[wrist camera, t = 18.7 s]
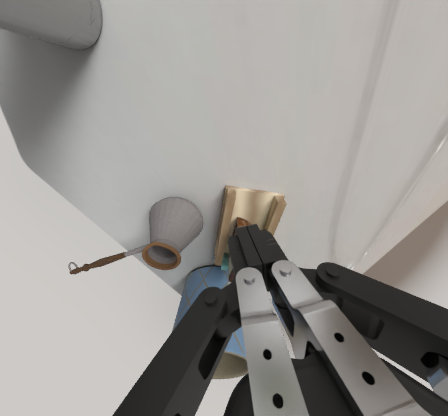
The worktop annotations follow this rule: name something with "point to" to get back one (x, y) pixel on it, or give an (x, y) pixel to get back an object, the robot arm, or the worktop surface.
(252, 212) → the channel board
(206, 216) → the worktop surface
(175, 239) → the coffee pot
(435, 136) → the worktop surface
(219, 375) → the planter
